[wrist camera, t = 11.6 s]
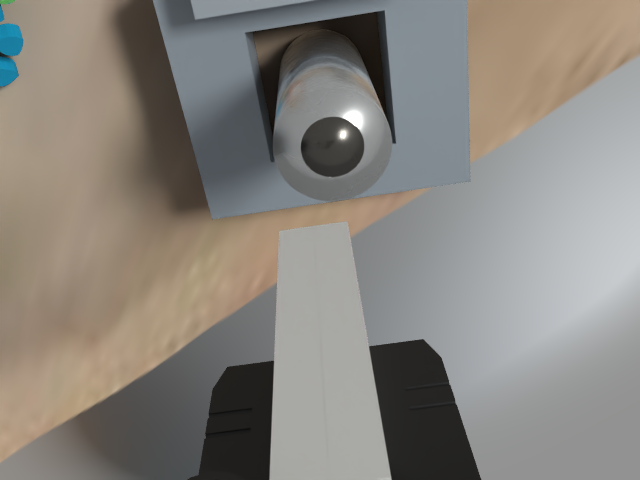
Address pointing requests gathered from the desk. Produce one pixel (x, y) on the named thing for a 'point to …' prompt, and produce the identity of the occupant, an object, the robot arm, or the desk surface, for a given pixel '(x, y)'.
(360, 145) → the bushing
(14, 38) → the gear
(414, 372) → the robot arm
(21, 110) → the desk surface
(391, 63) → the frame
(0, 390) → the desk surface
